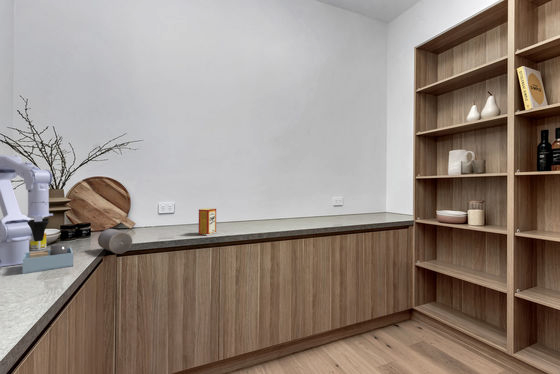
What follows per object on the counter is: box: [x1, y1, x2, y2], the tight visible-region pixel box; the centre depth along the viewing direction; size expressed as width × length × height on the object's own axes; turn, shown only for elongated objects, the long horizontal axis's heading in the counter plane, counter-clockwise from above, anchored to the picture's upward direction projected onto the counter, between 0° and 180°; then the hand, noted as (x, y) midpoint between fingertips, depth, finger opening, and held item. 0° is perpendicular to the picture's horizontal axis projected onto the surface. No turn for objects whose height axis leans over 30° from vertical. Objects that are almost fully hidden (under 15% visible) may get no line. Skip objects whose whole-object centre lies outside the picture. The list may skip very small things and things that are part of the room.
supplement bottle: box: [29, 230, 47, 252], centre depth 126 cm, size 6×6×10 cm
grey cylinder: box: [49, 243, 68, 256], centre depth 103 cm, size 5×5×7 cm
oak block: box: [29, 249, 49, 258], centre depth 99 cm, size 5×5×5 cm
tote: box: [22, 246, 74, 275], centre depth 101 cm, size 14×12×5 cm
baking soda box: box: [198, 207, 217, 235], centre depth 169 cm, size 10×6×16 cm
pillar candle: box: [97, 228, 133, 255], centre depth 124 cm, size 10×10×15 cm
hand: (38, 239), depth 99 cm, fingers open, 7 cm apart
